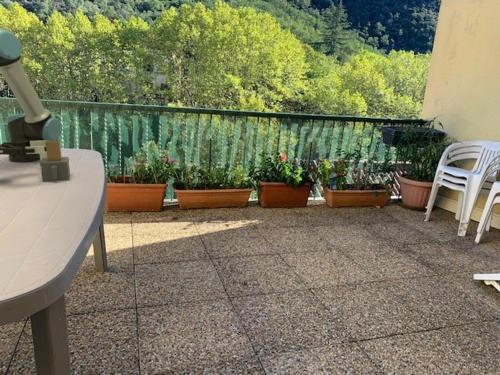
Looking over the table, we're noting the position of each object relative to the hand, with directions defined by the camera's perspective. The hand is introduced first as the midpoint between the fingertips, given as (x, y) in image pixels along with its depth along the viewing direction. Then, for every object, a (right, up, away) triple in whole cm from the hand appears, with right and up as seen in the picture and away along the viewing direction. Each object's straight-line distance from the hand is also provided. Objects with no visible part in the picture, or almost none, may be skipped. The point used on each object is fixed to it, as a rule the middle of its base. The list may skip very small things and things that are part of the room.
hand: (46, 146), depth 161 cm
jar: (-7, -9, +18) cm, 22 cm away
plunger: (+2, -12, +5) cm, 13 cm away
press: (+2, -13, +4) cm, 14 cm away
